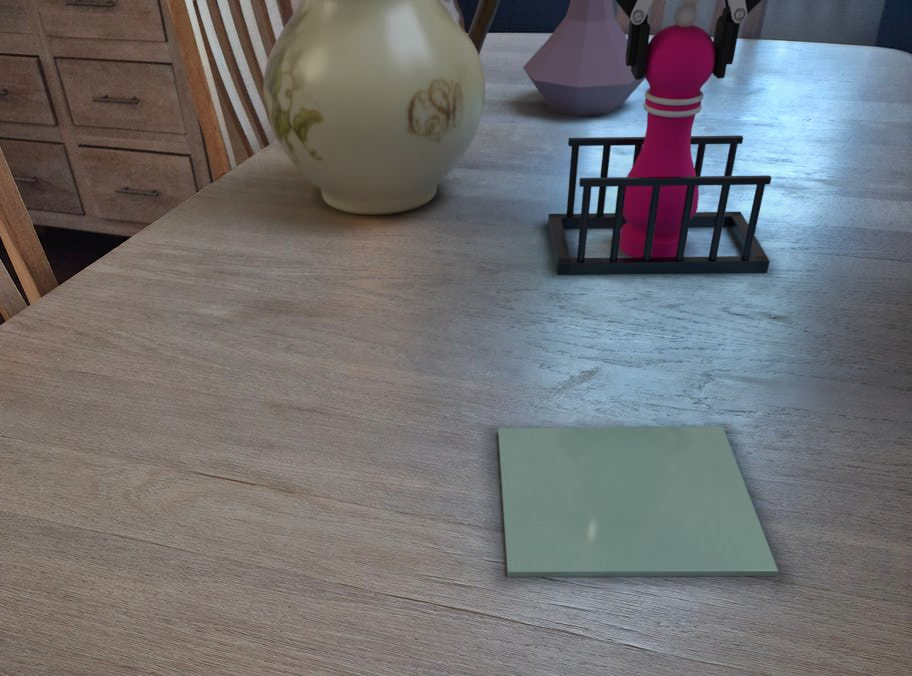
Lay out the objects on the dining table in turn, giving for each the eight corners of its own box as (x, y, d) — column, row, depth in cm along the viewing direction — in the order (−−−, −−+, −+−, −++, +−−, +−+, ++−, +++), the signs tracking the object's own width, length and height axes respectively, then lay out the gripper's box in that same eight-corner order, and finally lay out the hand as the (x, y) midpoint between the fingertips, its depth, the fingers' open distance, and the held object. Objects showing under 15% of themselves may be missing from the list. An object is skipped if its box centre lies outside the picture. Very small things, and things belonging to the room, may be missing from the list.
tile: (721, 432, 68) (722, 426, 68) (776, 577, 57) (778, 570, 56) (497, 434, 68) (498, 427, 68) (507, 578, 57) (507, 571, 57)
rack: (738, 223, 96) (756, 134, 90) (766, 274, 87) (789, 178, 81) (547, 225, 96) (553, 136, 91) (557, 276, 88) (564, 181, 82)
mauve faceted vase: (593, 83, 134) (609, -96, 120) (672, 111, 123) (699, -81, 110) (496, 102, 128) (501, -84, 114) (570, 133, 117) (585, -66, 104)
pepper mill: (606, 258, 90) (634, 10, 76) (622, 230, 95) (651, -8, 81) (683, 268, 88) (726, 15, 74) (695, 239, 93) (737, -4, 79)
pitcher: (243, 223, 98) (198, -78, 81) (322, 151, 114) (299, -113, 97) (453, 243, 93) (453, -72, 76) (504, 165, 110) (514, -110, 92)
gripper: (603, -201, 66) (579, 88, 79) (852, -206, 66) (789, 85, 79) (592, -206, 72) (571, 65, 84) (822, -211, 71) (767, 62, 84)
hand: (677, 72), depth 81 cm, fingers open, 6 cm apart
